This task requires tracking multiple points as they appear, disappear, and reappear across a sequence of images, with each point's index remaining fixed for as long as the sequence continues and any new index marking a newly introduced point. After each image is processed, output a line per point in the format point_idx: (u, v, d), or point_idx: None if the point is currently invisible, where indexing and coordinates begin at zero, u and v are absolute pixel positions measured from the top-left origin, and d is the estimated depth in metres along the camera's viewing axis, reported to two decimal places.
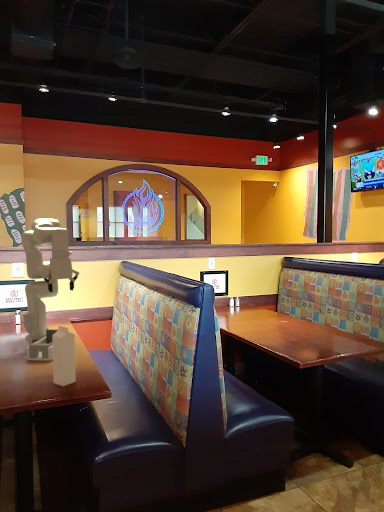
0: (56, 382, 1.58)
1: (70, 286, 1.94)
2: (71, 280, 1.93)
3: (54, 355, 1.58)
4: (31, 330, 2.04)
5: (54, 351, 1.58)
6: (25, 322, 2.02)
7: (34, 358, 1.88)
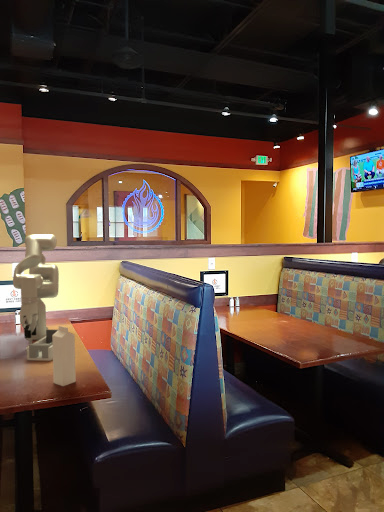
0: (56, 382, 1.58)
1: None
2: None
3: (54, 355, 1.58)
4: (31, 330, 2.04)
5: (54, 351, 1.58)
6: None
7: (34, 358, 1.88)
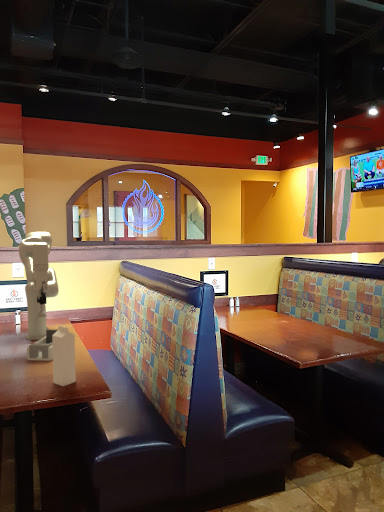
0: (56, 382, 1.58)
1: None
2: None
3: (54, 355, 1.58)
4: None
5: (54, 351, 1.58)
6: None
7: (34, 358, 1.88)
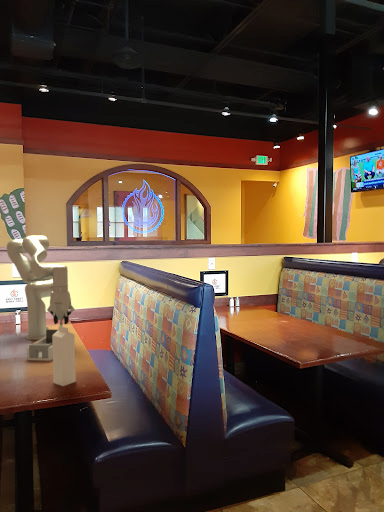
0: (56, 382, 1.58)
1: (56, 320, 2.14)
2: None
3: (54, 355, 1.58)
4: None
5: (54, 351, 1.58)
6: None
7: (34, 358, 1.88)
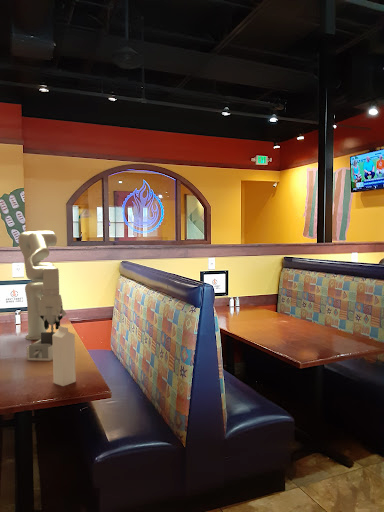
0: (56, 382, 1.58)
1: (47, 325, 2.03)
2: None
3: (54, 355, 1.58)
4: None
5: (54, 351, 1.58)
6: None
7: (34, 358, 1.88)
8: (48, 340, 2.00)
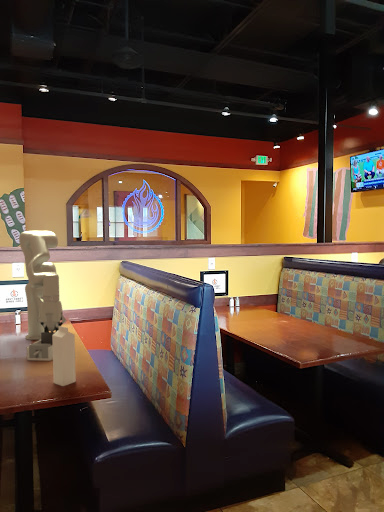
0: (56, 382, 1.58)
1: (47, 331, 2.03)
2: None
3: (54, 355, 1.58)
4: None
5: (54, 351, 1.58)
6: None
7: (34, 358, 1.88)
8: (48, 340, 2.00)
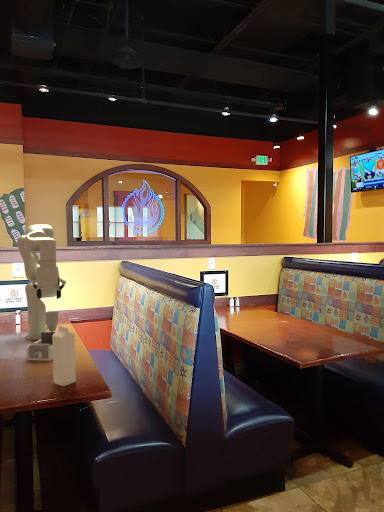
0: (56, 382, 1.58)
1: (40, 294, 2.02)
2: (40, 288, 2.03)
3: (54, 355, 1.58)
4: None
5: (54, 351, 1.58)
6: (56, 320, 2.02)
7: (34, 358, 1.88)
8: (48, 340, 2.00)
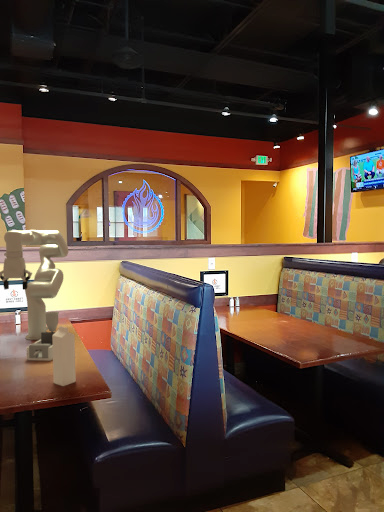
0: (56, 382, 1.58)
1: (7, 285, 2.07)
2: (7, 279, 2.08)
3: (54, 355, 1.58)
4: None
5: (54, 351, 1.58)
6: (56, 320, 2.02)
7: (34, 358, 1.88)
8: (48, 340, 2.00)
